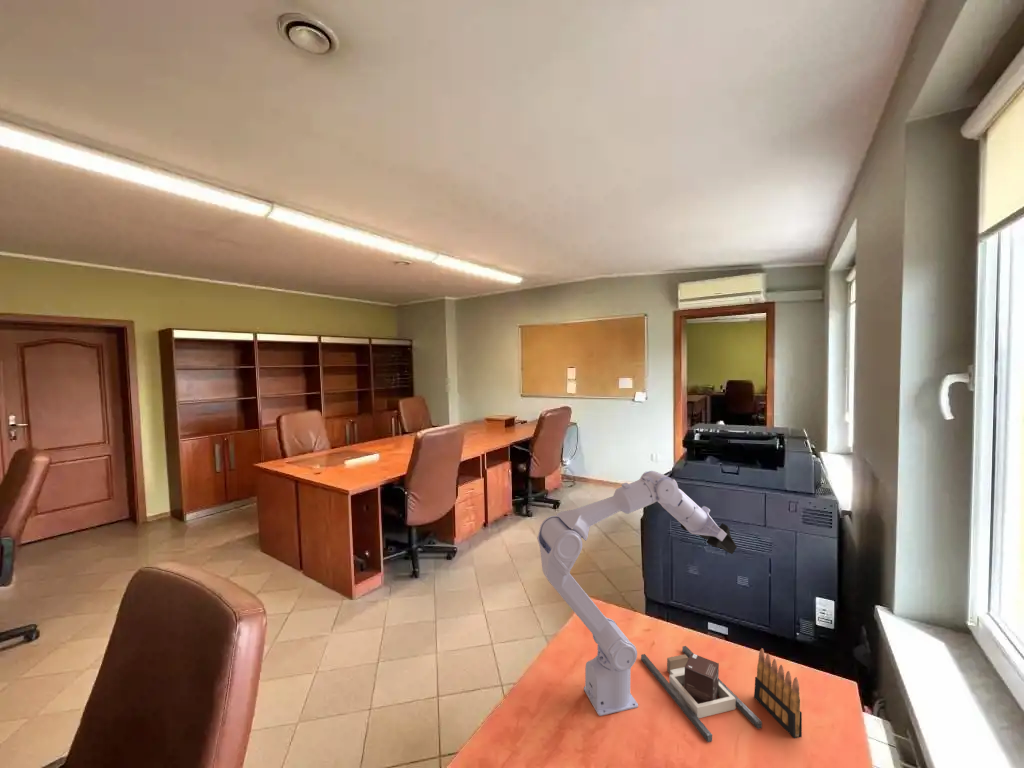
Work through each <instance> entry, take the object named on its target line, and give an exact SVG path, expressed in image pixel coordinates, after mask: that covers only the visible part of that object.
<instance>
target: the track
mask: <svg viewBox="0 0 1024 768" xmlns="http://www.w3.org/2000/svg"><path fill="white" fill-rule="evenodd" d="M682 653H683V655H684V654H685V655H686V656H687V657H688V659H689V657H690V655H691V653H692V654H695V653H694V652H692V650H691V649H690V648H689V647H688V646H687V645H683V646H682ZM640 660H641V662H642V663H643V665H645V667H646V668H647V669H648V670H649V671H650V673H651V674H652V675H653V677H654V678H655V680H657V682H659V684H660V685H661V686H662V688H664V690H665V691H666V692H667V694H668V696H670V698H671V699H672V700H673V701H674V702H675V704H676V705H677V706H678V708H680V710H681V712H683V714H684V715H685V716H686V718H687V719H688V720H689V721H690V723H691V724H692V725H693V726H694V727H695V729H696V730H697V732H699V733H700V735H701V736H702V737H703V739H704V740H705V741H706V742H707V743H711V742H713V734H712V733H711V732H710V730H709V729H708V728H707V727H706V726H705V724H704V723H703V722H702V721H701V718H698V717H697V716H696V715H695V713H694V712H693V711H692V710H691V709H690V707H689V706H688V705H687V704H686V703H685V701H684V700H683V699H682V698H681V697H680V695H679V694H678V693H677V692H676V691H675V690H674V688H673V687H672V686H671V685H670V684H669V681H668V680H667V679H666V678H665V676H664V675H663V674H662V673H661V671H660V670H659V669H658V668H657V667H656V665H655V664H654V663H653V661H652V660H651V659H650V658H649V657H648V656H647V655H646V653H642V654H640ZM719 682H720V683H721V684H722V685H723V686H724V687H725V688H726V689H727V690H728V691H729V692H730V693H731V694H732V695H733V696H734V697H735V698H736V707H735V708H737V710H739V711H740V712H741V713H742V715H744V717H746V718H747V720H748V721H749V722H751V724H752V725H753V726H754V727H755V728H756V729H757V730H760V729H762V728H763V721H762V720H761V719H760V718H759V717H758V716H757V715H756V714H755V713H754V712H753V711H752V710H751V709H750V708H749V707H748V706H747V705H746V704H745V703H744V702H743V701H742V700H741V699H740V698H739V697H738V696H737V695H736V694H735V692H733V691H732V690H731V689H730V688H729V687H728V686H727V685H726V684H725V683H724V682H723V681H722V680H721V679H719Z"/></svg>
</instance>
